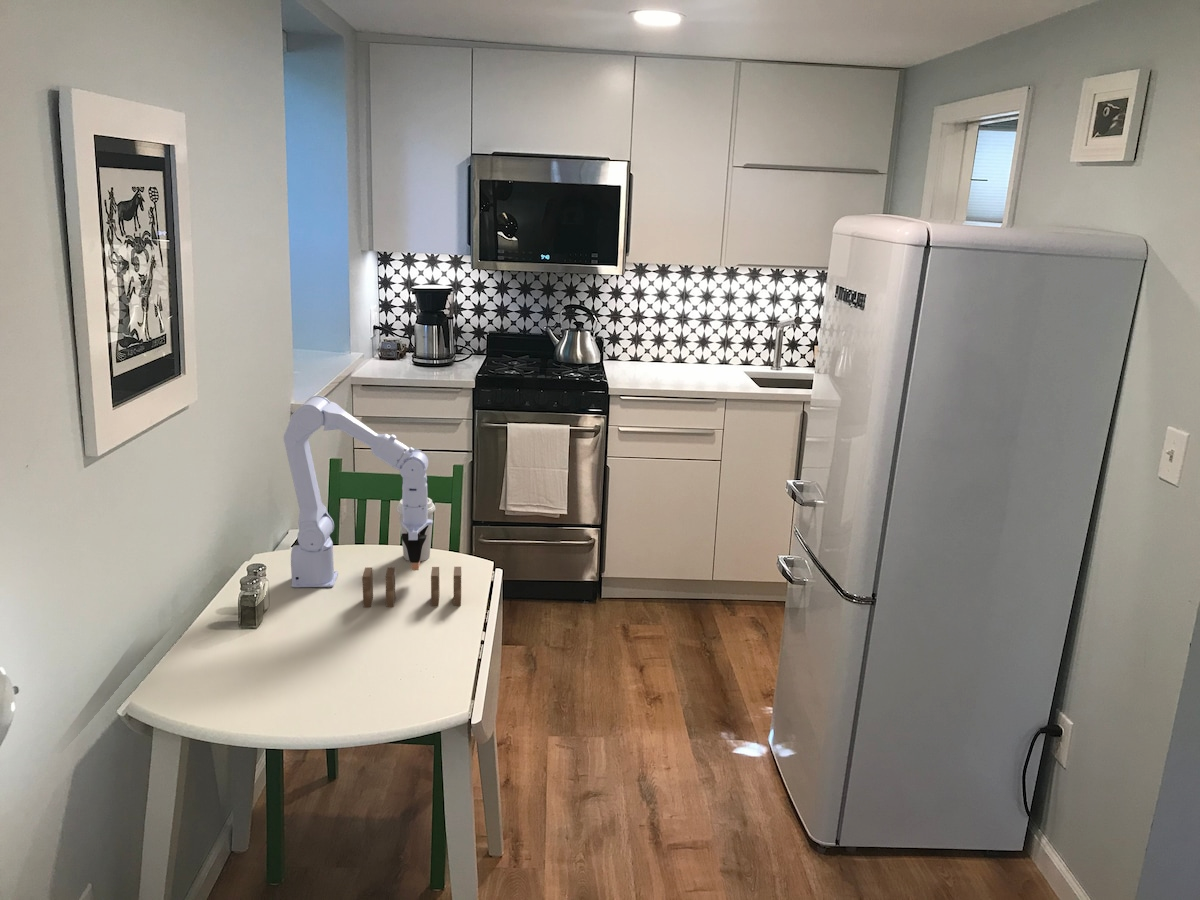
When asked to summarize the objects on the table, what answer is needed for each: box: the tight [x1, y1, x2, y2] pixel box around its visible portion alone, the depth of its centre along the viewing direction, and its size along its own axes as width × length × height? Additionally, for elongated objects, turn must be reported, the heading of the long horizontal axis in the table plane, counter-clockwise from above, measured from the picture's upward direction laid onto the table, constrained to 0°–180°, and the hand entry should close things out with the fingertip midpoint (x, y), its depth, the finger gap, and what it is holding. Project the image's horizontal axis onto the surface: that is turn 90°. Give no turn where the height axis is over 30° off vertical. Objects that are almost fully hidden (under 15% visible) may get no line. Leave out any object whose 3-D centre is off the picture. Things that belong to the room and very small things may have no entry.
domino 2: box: [384, 566, 396, 608], centre depth 212 cm, size 2×5×8 cm, turn 7°
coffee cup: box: [396, 496, 436, 562], centre depth 236 cm, size 10×10×15 cm
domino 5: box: [453, 566, 462, 607], centre depth 214 cm, size 2×5×8 cm, turn 7°
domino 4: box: [430, 566, 440, 607], centre depth 213 cm, size 2×5×8 cm, turn 7°
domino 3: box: [410, 533, 421, 571], centre depth 221 cm, size 2×5×8 cm, turn 7°
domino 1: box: [361, 566, 374, 608], centre depth 211 cm, size 2×5×8 cm, turn 7°
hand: (415, 557), depth 221 cm, fingers closed on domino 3, 5 cm apart
